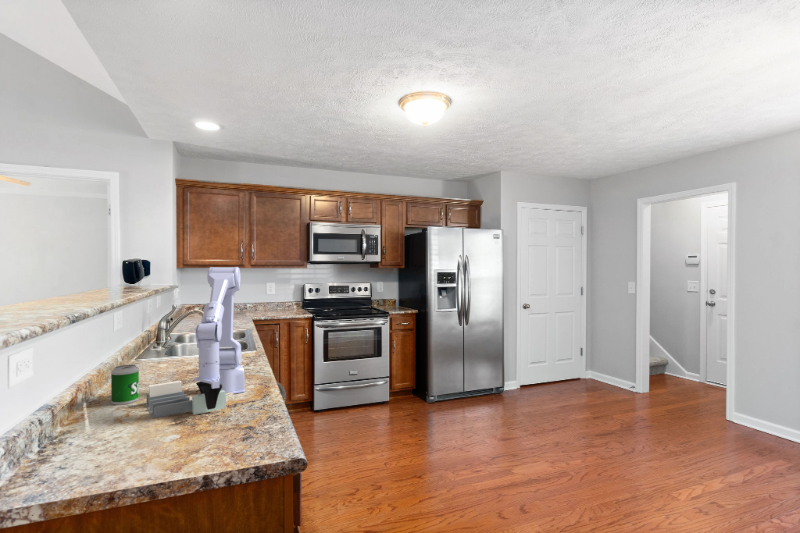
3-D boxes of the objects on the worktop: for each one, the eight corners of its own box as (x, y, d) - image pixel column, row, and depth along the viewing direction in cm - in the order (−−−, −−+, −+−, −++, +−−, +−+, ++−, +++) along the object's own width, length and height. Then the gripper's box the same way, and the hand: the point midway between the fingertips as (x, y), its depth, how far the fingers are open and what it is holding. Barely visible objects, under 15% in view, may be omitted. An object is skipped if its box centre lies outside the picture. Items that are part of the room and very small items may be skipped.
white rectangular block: (180, 398, 139) (180, 380, 139) (181, 400, 138) (181, 381, 138) (148, 404, 134) (148, 385, 134) (149, 406, 132) (149, 386, 132)
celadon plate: (223, 409, 132) (223, 390, 132) (225, 411, 130) (225, 391, 130) (192, 415, 126) (192, 395, 126) (193, 417, 125) (193, 397, 125)
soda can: (125, 408, 132) (125, 370, 132) (105, 406, 134) (105, 369, 134) (144, 400, 140) (144, 364, 140) (125, 399, 141) (125, 363, 141)
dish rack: (182, 399, 141) (182, 388, 141) (194, 412, 128) (194, 400, 128) (144, 406, 134) (144, 394, 134) (152, 421, 122) (152, 408, 122)
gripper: (189, 359, 131) (189, 403, 131) (200, 368, 120) (201, 416, 120) (213, 356, 136) (213, 398, 136) (226, 364, 124) (226, 410, 124)
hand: (209, 406), depth 128 cm, fingers open, 4 cm apart
